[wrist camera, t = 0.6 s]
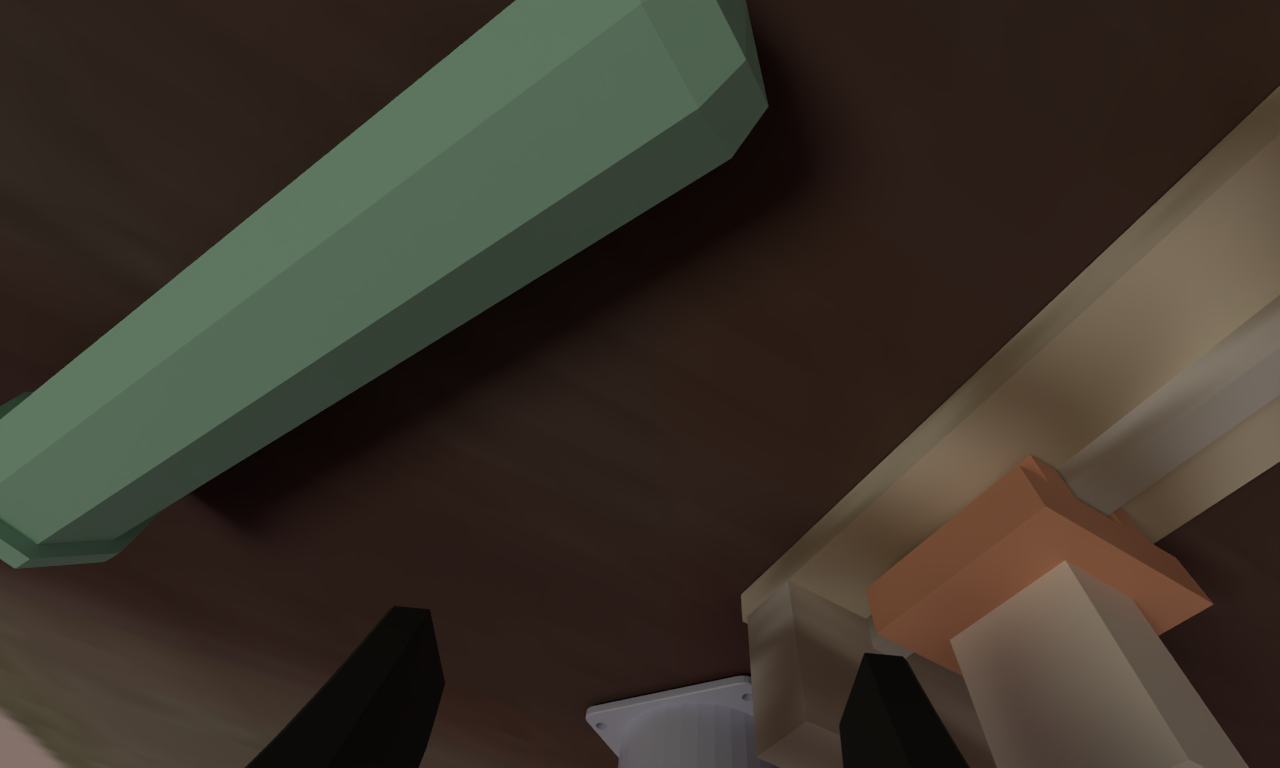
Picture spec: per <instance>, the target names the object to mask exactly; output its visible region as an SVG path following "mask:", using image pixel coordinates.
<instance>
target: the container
mask: <svg viewBox="0 0 1280 768" xmlns="http://www.w3.org/2000/svg"><path fill="white" fill-rule="evenodd" d="M767 108H768V102H767V97H766V93H765V88H764V83H763V79H762V74H761V69H760V65H759V60H758V55H757V51H756V46H755V41H754V37H753V32H752V27H751V23H750V18H749V13H748V9H747V4H746V0H516V1H514V2H513V3H512V4H511V5H510V6H508V7H507V8H506V9H505V10H503V11H502V12H501V13H500V14H498V15H497V16H496V17H495V18H494V19H492V20H491V21H490V22H489V23H487V24H486V25H485V26H484V27H482V28H481V29H480V30H479V31H478V32H476V33H475V34H474V35H473V36H471V37H470V38H469V39H468V40H466V41H465V42H464V43H463V44H462V45H460V46H459V47H458V48H457V49H455V50H454V51H453V52H452V53H450V54H449V55H448V56H447V57H446V58H444V59H443V60H442V61H441V62H439V63H438V64H437V65H436V66H434V67H433V68H432V69H431V70H430V71H428V72H427V73H426V74H425V75H423V76H422V77H421V78H420V79H419V80H417V81H416V82H415V83H414V84H412V85H411V86H410V87H409V88H407V89H406V90H405V91H404V92H403V93H401V94H400V95H399V96H398V97H396V98H395V99H394V100H393V101H391V102H390V103H389V104H388V105H387V106H385V107H384V108H383V109H382V110H380V111H379V112H378V113H377V114H375V115H374V116H373V117H372V118H371V119H369V120H368V121H367V122H366V123H364V124H363V125H362V126H361V127H359V128H358V129H357V130H356V131H355V132H353V133H352V134H351V135H350V136H348V137H347V138H346V139H345V140H344V141H342V142H341V143H340V144H339V145H337V146H336V147H335V148H334V149H332V150H331V151H330V152H329V153H328V154H326V155H325V156H324V157H323V158H321V159H320V160H319V161H318V162H316V163H315V164H314V165H313V166H312V167H310V168H309V169H308V170H307V171H305V172H304V173H303V174H302V175H300V176H299V177H298V178H297V179H296V180H294V181H293V182H292V183H291V184H289V185H288V186H287V187H286V188H284V189H283V190H282V191H281V192H280V193H278V194H277V195H276V196H275V197H273V198H272V199H271V200H270V201H268V202H267V203H266V204H265V205H264V206H262V207H261V208H260V209H259V210H257V211H256V212H255V213H254V214H253V215H251V216H250V217H249V218H248V219H246V220H245V221H244V222H243V223H241V224H240V225H239V226H238V227H237V228H235V229H234V230H233V231H232V232H230V233H229V234H228V235H227V236H225V237H224V238H223V239H222V240H221V241H219V242H218V243H217V244H216V245H214V246H213V247H212V248H211V249H209V250H208V251H207V252H206V253H205V254H203V255H202V256H201V257H200V258H198V259H197V260H196V261H195V262H193V263H192V264H191V265H190V266H189V267H187V268H186V269H185V270H184V271H182V272H181V273H180V274H179V275H177V276H176V277H175V278H174V279H173V280H171V281H170V282H169V283H168V284H166V285H165V286H164V287H163V288H162V289H160V290H159V291H158V292H157V293H155V294H154V295H153V296H152V297H150V298H149V299H148V300H147V301H146V302H144V303H143V304H142V305H141V306H139V307H138V308H137V309H136V310H134V311H133V312H132V313H131V314H130V315H128V316H127V317H126V318H125V319H123V320H122V321H121V322H120V323H118V324H117V325H116V326H115V327H114V328H112V329H111V330H110V331H109V332H107V333H106V334H105V335H104V336H102V337H101V338H100V339H99V340H98V341H96V342H95V343H94V344H93V345H91V346H90V347H89V348H88V349H86V350H85V351H84V352H83V353H82V354H80V355H79V356H78V357H77V358H75V359H74V360H73V361H72V362H71V363H69V364H68V365H67V366H66V367H64V368H63V369H62V370H61V371H59V372H58V373H57V374H56V375H55V376H53V377H52V378H51V379H50V380H48V381H47V382H46V383H45V384H43V385H42V386H41V387H40V388H39V389H37V390H36V391H35V392H34V393H32V392H24V393H22V394H20V395H19V396H17V397H15V398H14V399H12V400H10V401H9V402H7V403H5V404H4V405H2V406H0V559H2V560H3V561H5V562H6V563H7V564H9V565H10V566H12V567H13V568H15V569H17V568H30V567H43V566H56V565H69V564H82V563H96V562H105V561H107V560H109V559H110V558H112V557H114V556H115V555H117V554H119V553H120V552H121V551H122V550H123V549H124V548H125V547H126V546H127V545H128V544H129V543H130V542H131V541H132V540H133V539H134V538H135V537H136V536H137V535H138V534H139V533H140V532H141V531H143V530H144V529H145V528H146V527H147V526H148V525H149V524H150V523H151V522H152V521H153V520H154V519H155V518H156V517H157V516H158V515H159V514H160V513H161V512H162V511H163V510H164V509H165V508H166V507H167V506H169V505H171V504H172V503H174V502H176V501H177V500H179V499H180V498H182V497H184V496H185V495H187V494H189V493H190V492H192V491H193V490H195V489H197V488H198V487H200V486H201V485H203V484H205V483H206V482H208V481H210V480H211V479H213V478H214V477H216V476H218V475H219V474H221V473H223V472H224V471H226V470H227V469H229V468H231V467H232V466H234V465H235V464H237V463H239V462H240V461H242V460H244V459H245V458H247V457H248V456H250V455H252V454H253V453H255V452H257V451H258V450H260V449H261V448H263V447H265V446H266V445H268V444H269V443H271V442H273V441H274V440H276V439H278V438H279V437H281V436H282V435H284V434H286V433H287V432H289V431H291V430H292V429H294V428H295V427H297V426H299V425H300V424H302V423H303V422H305V421H307V420H308V419H310V418H312V417H313V416H315V415H316V414H318V413H320V412H321V411H323V410H325V409H326V408H328V407H329V406H331V405H333V404H334V403H336V402H337V401H339V400H341V399H342V398H344V397H346V396H347V395H349V394H350V393H352V392H354V391H355V390H357V389H359V388H360V387H362V386H363V385H365V384H367V383H368V382H370V381H371V380H373V379H375V378H376V377H378V376H380V375H381V374H383V373H384V372H386V371H388V370H389V369H391V368H393V367H394V366H396V365H397V364H399V363H401V362H402V361H404V360H405V359H407V358H409V357H410V356H412V355H414V354H415V353H417V352H418V351H420V350H422V349H423V348H425V347H427V346H428V345H430V344H431V343H433V342H435V341H436V340H438V339H439V338H441V337H443V336H444V335H446V334H448V333H449V332H451V331H452V330H454V329H456V328H457V327H459V326H461V325H462V324H464V323H465V322H467V321H469V320H470V319H472V318H473V317H475V316H477V315H478V314H480V313H482V312H483V311H485V310H486V309H488V308H490V307H491V306H493V305H495V304H496V303H498V302H499V301H501V300H503V299H504V298H506V297H507V296H509V295H511V294H512V293H514V292H516V291H517V290H519V289H520V288H522V287H524V286H525V285H527V284H529V283H530V282H532V281H533V280H535V279H537V278H538V277H540V276H541V275H543V274H545V273H546V272H548V271H550V270H551V269H553V268H554V267H556V266H558V265H559V264H561V263H563V262H564V261H566V260H567V259H569V258H571V257H572V256H574V255H575V254H577V253H579V252H580V251H582V250H584V249H585V248H587V247H588V246H590V245H592V244H593V243H595V242H597V241H598V240H600V239H601V238H603V237H605V236H606V235H608V234H609V233H611V232H613V231H614V230H616V229H618V228H619V227H621V226H622V225H624V224H626V223H627V222H629V221H631V220H632V219H634V218H635V217H637V216H639V215H640V214H642V213H644V212H645V211H647V210H648V209H650V208H652V207H653V206H655V205H656V204H658V203H660V202H661V201H663V200H665V199H666V198H668V197H669V196H671V195H673V194H674V193H676V192H678V191H679V190H681V189H682V188H684V187H686V186H687V185H689V184H690V183H692V182H694V181H695V180H697V179H699V178H700V177H702V176H703V175H705V174H707V173H708V172H710V171H712V170H713V169H715V168H716V167H718V166H720V165H721V164H723V163H724V162H726V161H728V160H729V159H731V158H732V157H733V155H734V154H735V153H736V151H737V150H738V148H739V147H740V146H741V144H742V143H743V141H744V140H745V139H746V137H747V136H748V134H749V133H750V132H751V130H752V129H753V127H754V126H755V125H756V123H757V122H758V120H759V119H760V117H761V116H762V115H763V113H764V112H765V110H766V109H767Z"/></svg>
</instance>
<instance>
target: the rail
mask: <svg viewBox="0 0 1280 768" xmlns="http://www.w3.org/2000/svg"><path fill="white" fill-rule="evenodd" d="M1029 455H1031V456H1033V457H1035V458H1036V459H1038V460H1040V461H1041V462H1043V463H1045V464H1046V465H1048V466H1050V467H1051V468H1053V469H1055V470H1056V471H1057V473H1058V474H1059V475H1060V477H1061V478H1062V480H1063V481H1064V482H1065V484H1066V485H1067V487H1068V488H1069V489H1070V491H1071V492H1072V494H1073V495H1074V496H1075V498H1076V499H1078V500H1079V501H1081V502H1083V503H1084V504H1086V505H1088V506H1089V507H1091V508H1093V509H1095V510H1096V511H1098V512H1100V513H1101V514H1103V515H1105V516H1106V517H1107V516H1108V515H1110V514H1111V513H1112V512H1114V511H1115V510H1117V509H1118V508H1120V509H1121V510H1123V511H1125V512H1126V514H1127V515H1128V516H1129V517H1130V519H1131V520H1132V521H1133V522H1134V524H1135V525H1136V526H1137V528H1138V529H1139V530H1140V531H1141V533H1142V534H1143V535H1144V536H1145V538H1146V539H1147V540H1148V541H1149V542H1150V543H1152V544H1154V543H1156V542H1157V541H1159V540H1160V539H1162V538H1163V537H1165V536H1166V535H1168V534H1169V533H1171V532H1172V531H1174V530H1175V529H1177V528H1178V527H1180V526H1182V525H1183V524H1185V523H1186V522H1188V521H1189V520H1191V519H1192V518H1194V517H1195V516H1197V515H1198V514H1200V513H1201V512H1203V511H1204V510H1206V509H1208V508H1209V507H1211V506H1212V505H1214V504H1215V503H1217V502H1218V501H1220V500H1221V499H1223V498H1224V497H1226V496H1227V495H1229V494H1230V493H1232V492H1234V491H1235V490H1237V489H1238V488H1240V487H1241V486H1243V485H1244V484H1246V483H1247V482H1249V481H1250V480H1252V479H1253V478H1255V477H1256V476H1258V475H1260V474H1261V473H1263V472H1264V471H1266V470H1267V469H1269V468H1270V467H1272V466H1273V465H1275V464H1276V463H1278V462H1279V461H1280V86H1279V87H1278V88H1277V89H1276V90H1275V91H1274V92H1273V93H1272V94H1271V95H1269V96H1268V97H1267V98H1266V99H1265V100H1264V101H1263V102H1262V103H1261V104H1260V105H1259V106H1258V107H1257V108H1256V109H1255V110H1254V111H1253V112H1251V113H1250V114H1249V115H1248V116H1247V117H1246V118H1245V119H1244V120H1243V121H1242V122H1241V123H1240V124H1239V125H1238V126H1237V127H1236V128H1235V129H1233V130H1232V131H1231V132H1230V133H1229V134H1228V135H1227V136H1226V137H1225V138H1224V139H1223V140H1222V141H1221V142H1220V143H1219V144H1218V145H1217V146H1216V147H1214V148H1213V149H1212V150H1211V151H1210V152H1209V153H1208V154H1207V155H1206V156H1205V157H1204V158H1203V159H1202V160H1201V161H1200V162H1199V163H1198V164H1196V165H1195V166H1194V167H1193V168H1192V169H1191V170H1190V171H1189V172H1188V173H1187V174H1186V175H1185V176H1184V177H1183V178H1182V179H1181V180H1180V181H1178V182H1177V183H1176V184H1175V185H1174V186H1173V187H1172V188H1171V189H1170V190H1169V191H1168V192H1167V193H1166V194H1165V195H1164V196H1163V197H1162V198H1160V199H1159V200H1158V201H1157V202H1156V203H1155V204H1154V205H1153V206H1152V207H1151V208H1150V209H1149V210H1148V211H1147V212H1146V213H1145V214H1144V215H1142V216H1141V217H1140V218H1139V219H1138V220H1137V221H1136V222H1135V223H1134V224H1133V225H1132V226H1131V227H1130V228H1129V229H1128V230H1127V231H1126V232H1124V233H1123V234H1122V235H1121V236H1120V237H1119V238H1118V239H1117V240H1116V241H1115V242H1114V243H1113V244H1112V245H1111V246H1110V247H1109V248H1108V249H1106V250H1105V251H1104V252H1103V253H1102V254H1101V255H1100V256H1099V257H1098V258H1097V259H1096V260H1095V261H1094V262H1093V263H1092V264H1091V265H1090V266H1089V267H1087V268H1086V269H1085V270H1084V271H1083V272H1082V273H1081V274H1080V275H1079V276H1078V277H1077V278H1076V279H1075V280H1074V281H1073V282H1072V283H1071V284H1069V285H1068V286H1067V287H1066V288H1065V289H1064V290H1063V291H1062V292H1061V293H1060V294H1059V295H1058V296H1057V297H1056V298H1055V299H1054V300H1053V301H1051V302H1050V303H1049V304H1048V305H1047V306H1046V307H1045V308H1044V309H1043V310H1042V311H1041V312H1040V313H1039V314H1038V315H1037V316H1036V317H1035V318H1033V319H1032V320H1031V321H1030V322H1029V323H1028V324H1027V325H1026V326H1025V327H1024V328H1023V329H1022V330H1021V331H1020V332H1019V333H1018V334H1017V335H1015V336H1014V337H1013V338H1012V339H1011V340H1010V341H1009V342H1008V343H1007V344H1006V345H1005V346H1004V347H1003V348H1002V349H1001V350H1000V351H999V352H997V353H996V354H995V355H994V356H993V357H992V358H991V359H990V360H989V361H988V362H987V363H986V364H985V365H984V366H983V367H982V368H981V369H979V370H978V371H977V372H976V373H975V374H974V375H973V376H972V377H971V378H970V379H969V380H968V381H967V382H966V383H965V384H964V385H963V386H962V387H960V388H959V389H958V390H957V391H956V392H955V393H954V394H953V395H952V396H951V397H950V398H949V399H948V400H947V401H946V402H945V403H944V404H942V405H941V406H940V407H939V408H938V409H937V410H936V411H935V412H934V413H933V414H932V415H931V416H930V417H929V418H928V419H927V420H926V421H924V422H923V423H922V424H921V425H920V426H919V427H918V428H917V429H916V430H915V431H914V432H913V433H912V434H911V435H910V436H909V437H908V438H906V439H905V440H904V441H903V442H902V443H901V444H900V445H899V446H898V447H897V448H896V449H895V450H894V451H893V452H892V453H891V454H890V455H888V456H887V457H886V458H885V459H884V460H883V461H882V462H881V463H880V464H879V465H878V466H877V467H876V468H875V469H874V470H873V471H872V472H870V473H869V474H868V475H867V476H866V477H865V478H864V479H863V480H862V481H861V482H860V483H859V484H858V485H857V486H856V487H855V488H854V489H852V490H851V491H850V492H849V493H848V494H847V495H846V496H845V497H844V498H843V499H842V500H841V501H840V502H839V503H838V504H837V505H836V506H834V507H833V508H832V509H831V510H830V511H829V512H828V513H827V514H826V515H825V516H824V517H823V518H822V519H821V520H820V521H819V522H818V523H817V524H815V525H814V526H813V527H812V528H811V529H810V530H809V531H808V532H807V533H806V534H805V535H804V536H803V537H802V538H801V539H800V540H799V541H797V542H796V543H795V544H794V545H793V546H792V547H791V548H790V549H789V550H788V551H787V552H786V553H785V554H784V555H783V556H782V557H781V558H779V559H778V560H777V561H776V562H775V563H774V564H773V565H772V566H771V567H770V568H769V569H768V570H767V571H766V572H765V573H764V574H763V575H761V576H760V577H759V578H758V579H757V580H756V581H755V582H754V583H753V584H752V585H751V586H750V587H749V588H748V589H747V590H746V591H745V592H743V593H742V594H741V603H742V620H743V622H745V623H747V624H748V635H749V650H750V666H751V681H752V697H753V712H754V728H755V743H756V757H757V758H759V759H762V760H764V761H766V762H769V763H771V764H773V765H776V766H778V767H781V768H843V759H842V749H841V739H840V729H839V724H840V721H841V718H842V715H843V712H844V709H845V706H846V704H847V701H848V698H849V695H850V692H851V689H852V686H853V684H854V681H855V678H856V675H857V672H858V669H859V667H860V664H861V661H862V658H863V655H864V652H865V653H875V654H885V655H895V656H903V657H904V658H905V659H906V660H907V661H908V663H909V665H910V666H911V668H912V670H913V672H914V674H915V675H916V677H917V679H918V681H919V683H920V684H921V686H922V688H923V690H924V691H925V693H926V695H927V697H928V698H929V700H930V702H931V703H932V705H933V707H934V709H935V710H936V712H937V714H938V715H939V717H940V719H941V721H942V722H943V724H944V726H945V727H946V729H947V731H948V732H949V734H950V736H951V737H952V739H953V741H954V742H955V744H956V746H957V747H958V749H959V750H960V752H961V754H962V755H963V757H964V759H965V760H966V762H967V763H968V765H969V767H970V768H997V767H996V764H995V761H994V758H993V756H992V753H991V750H990V748H989V745H988V742H987V740H986V737H985V734H984V731H983V729H982V726H981V723H980V721H979V718H978V715H977V712H976V710H975V707H974V704H973V702H972V699H971V696H970V694H969V691H968V688H967V685H966V683H965V680H964V677H963V676H961V675H959V674H957V673H955V672H953V671H951V670H949V669H947V668H945V667H943V666H941V665H939V664H937V663H935V662H933V661H931V660H929V659H927V658H925V657H923V656H921V655H919V654H917V653H915V652H913V651H910V650H908V649H906V648H904V647H902V646H900V645H898V644H896V643H894V642H892V641H890V640H888V639H886V638H884V637H882V636H880V635H878V634H877V633H876V629H875V626H874V622H873V618H872V614H871V610H870V606H869V603H868V599H867V595H866V591H865V589H866V588H868V587H869V586H870V585H871V584H873V583H874V582H875V581H876V580H878V579H879V578H880V577H881V576H882V575H884V573H886V572H887V571H888V570H889V569H891V568H892V567H893V566H894V565H895V564H897V563H898V562H899V561H900V560H902V559H903V558H904V557H905V556H906V555H908V554H909V553H910V552H911V551H913V550H914V549H915V548H916V547H917V546H919V545H920V544H921V543H922V542H924V541H925V540H926V539H927V538H928V537H930V536H931V535H932V534H933V533H935V532H936V531H937V530H938V529H939V528H941V527H942V526H943V525H944V524H946V523H947V522H948V521H949V520H951V519H952V518H953V517H954V516H955V515H957V514H958V513H959V512H960V511H962V510H963V509H964V508H965V507H966V506H968V505H969V504H970V503H971V502H973V501H974V500H975V499H976V498H977V497H979V496H980V495H981V494H982V493H984V492H985V491H986V490H987V489H988V488H990V487H991V486H992V485H993V484H995V483H996V482H997V481H998V480H999V479H1001V478H1002V477H1003V476H1004V475H1006V474H1007V473H1008V472H1009V471H1010V470H1012V469H1013V468H1014V467H1015V466H1017V465H1018V464H1019V463H1020V462H1021V461H1023V460H1024V459H1025V458H1026V457H1028V456H1029Z"/></svg>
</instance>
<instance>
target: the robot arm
mask: <svg viewBox="0 0 1280 768" xmlns="http://www.w3.org/2000/svg"><path fill="white" fill-rule="evenodd" d="M444 685H445V681H444V676H443V672H442V667H441V662H440V657H439V652H438V647H437V642H436V637H435V633H434V628H433V623H432V618H431V613H430V609H419V608H409V607H399V606H394V607H393V608H391V609H390V610H389V611H388V612H387V613H386V614H385V616H384V617H383V618H382V619H381V620H380V621H379V623H378V624H377V625H376V626H375V627H374V629H373V630H372V631H371V632H370V633H369V634H368V636H367V637H366V638H365V639H364V640H363V641H362V643H361V644H360V645H359V646H358V647H357V648H356V650H355V651H354V652H353V653H352V654H351V655H350V656H349V658H348V659H347V660H346V661H345V662H344V663H343V664H342V666H341V667H340V668H339V669H338V670H337V671H336V672H335V673H334V675H333V676H332V677H331V678H330V679H329V680H328V681H327V682H326V684H325V685H324V686H323V687H322V688H321V689H320V690H319V691H318V692H317V693H316V694H315V695H314V697H313V698H312V699H311V700H310V701H309V702H308V703H307V704H306V705H305V706H304V707H303V708H302V709H301V711H300V712H299V713H298V714H297V715H296V716H295V717H294V718H293V719H292V720H291V721H290V722H289V723H288V725H287V726H286V727H285V728H284V729H283V730H282V731H281V732H280V733H279V734H278V735H277V736H276V737H275V738H274V739H273V740H272V741H271V742H270V743H269V744H268V745H267V746H266V747H265V748H264V749H263V750H262V751H261V752H260V753H259V754H258V755H257V756H256V757H255V758H254V759H253V760H252V761H251V762H250V763H249V764H248V765H247V766H246V767H245V768H419V765H420V763H421V760H422V758H423V755H424V752H425V750H426V747H427V744H428V741H429V737H430V734H431V731H432V727H433V724H434V721H435V717H436V714H437V710H438V706H439V703H440V699H441V696H442V692H443V688H444ZM586 720H587V722H588V723H589V724H590V725H591V726H592V728H593V729H594V730H595V731H596V732H597V733H598V734H599V736H600V737H601V738H602V739H603V740H604V741H605V743H606V744H607V745H608V746H609V747H610V748H611V749H612V751H613V752H614V753H615V754H616V755H617V756H618V758H619V765H618V768H781V767H778V766H776V765H773V764H771V763H769V762H766V761H764V760H762V759H759V758H757V757H756V743H755V728H754V712H753V697H752V681H751V677H749V676H745V675H740V676H735V677H730V678H725V679H721V680H716V681H711V682H706V683H701V684H697V685H692V686H687V687H682V688H677V689H673V690H668V691H663V692H658V693H653V694H648V695H644V696H639V697H634V698H629V699H624V700H620V701H615V702H610V703H605V704H600V705H596V706H592V707H589V708H588V709H587V713H586ZM839 729H840V739H841V749H842V759H843V768H970V767H969V765H968V763H967V762H966V760H965V759H964V757H963V755H962V754H961V752H960V750H959V749H958V747H957V746H956V744H955V742H954V741H953V739H952V737H951V736H950V734H949V732H948V731H947V729H946V727H945V726H944V724H943V722H942V721H941V719H940V717H939V715H938V714H937V712H936V710H935V709H934V707H933V705H932V703H931V702H930V700H929V698H928V697H927V695H926V693H925V691H924V690H923V688H922V686H921V684H920V683H919V681H918V679H917V677H916V675H915V674H914V672H913V670H912V668H911V666H910V665H909V663H908V661H907V660H906V659H905V658H904V657H903V656H895V655H885V654H875V653H865V652H864V655H863V658H862V661H861V664H860V667H859V669H858V672H857V675H856V678H855V681H854V684H853V686H852V689H851V692H850V695H849V698H848V701H847V704H846V706H845V709H844V712H843V715H842V718H841V721H840V724H839Z"/></svg>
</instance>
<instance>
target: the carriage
mask: <svg viewBox="0 0 1280 768" xmlns="http://www.w3.org/2000/svg"><path fill="white" fill-rule="evenodd" d="M865 591H866V595H867V599H868V603H869V606H870V610H871V614H872V618H873V622H874V626H875V629H876V633H877V634H878V635H880V636H882V637H884V638H886V639H888V640H890V641H892V642H894V643H896V644H898V645H900V646H902V647H904V648H906V649H908V650H910V651H913V652H915V653H917V654H919V655H921V656H923V657H925V658H927V659H929V660H931V661H933V662H935V663H937V664H939V665H941V666H943V667H945V668H947V669H949V670H951V671H953V672H955V673H957V674H959V675H961V676H963V677H964V680H965V683H966V685H967V688H968V691H969V694H970V696H971V699H972V702H973V704H974V707H975V710H976V712H977V715H978V718H979V721H980V723H981V726H982V729H983V731H984V734H985V737H986V740H987V742H988V745H989V748H990V750H991V753H992V756H993V758H994V761H995V764H996V767H997V768H1249V767H1248V766H1247V764H1246V763H1245V762H1244V760H1243V759H1242V757H1241V756H1240V754H1239V753H1238V751H1237V750H1236V748H1235V747H1234V746H1233V744H1232V743H1231V741H1230V740H1229V738H1228V737H1227V735H1226V734H1225V733H1224V731H1223V730H1222V728H1221V727H1220V725H1219V724H1218V722H1217V721H1216V719H1215V718H1214V717H1213V715H1212V714H1211V712H1210V711H1209V709H1208V708H1207V706H1206V705H1205V704H1204V702H1203V701H1202V699H1201V698H1200V696H1199V695H1198V693H1197V692H1196V690H1195V689H1194V688H1193V686H1192V685H1191V683H1190V682H1189V680H1188V679H1187V677H1186V676H1185V675H1184V673H1183V672H1182V670H1181V669H1180V667H1179V666H1178V664H1177V663H1176V661H1175V660H1174V659H1173V657H1172V656H1171V654H1170V653H1169V651H1168V650H1167V648H1166V647H1165V646H1164V644H1163V643H1162V641H1161V640H1160V638H1159V637H1158V636H1159V635H1161V634H1162V633H1164V632H1166V631H1167V630H1169V629H1171V628H1173V627H1174V626H1176V625H1178V624H1180V623H1181V622H1183V621H1185V620H1187V619H1188V618H1190V617H1192V616H1194V615H1195V614H1197V613H1199V612H1201V611H1202V610H1204V609H1206V608H1208V607H1209V606H1211V605H1213V603H1212V602H1211V600H1210V599H1209V598H1208V597H1207V595H1206V594H1205V593H1204V592H1203V591H1202V589H1201V588H1200V587H1199V586H1198V584H1197V583H1196V582H1195V581H1194V579H1193V578H1192V577H1191V576H1190V575H1189V573H1188V572H1187V571H1186V570H1185V568H1184V567H1183V566H1182V565H1181V564H1180V562H1179V561H1178V560H1177V559H1176V558H1175V557H1174V556H1172V555H1170V554H1169V553H1167V552H1165V551H1164V550H1162V549H1160V548H1158V547H1157V546H1155V545H1153V544H1152V543H1150V542H1149V541H1148V540H1147V539H1146V538H1145V536H1144V535H1143V534H1142V533H1141V531H1140V530H1139V529H1138V528H1137V526H1136V525H1135V524H1134V522H1133V521H1132V520H1131V519H1130V517H1129V516H1128V515H1127V514H1126V512H1125V511H1123V510H1121V509H1120V508H1118V509H1117V510H1115V511H1114V512H1112V513H1111V514H1110V515H1108V516H1107V517H1106V516H1105V515H1103V514H1101V513H1100V512H1098V511H1096V510H1095V509H1093V508H1091V507H1089V506H1088V505H1086V504H1084V503H1083V502H1081V501H1079V500H1078V499H1076V498H1075V496H1074V495H1073V494H1072V492H1071V491H1070V489H1069V488H1068V487H1067V485H1066V484H1065V482H1064V481H1063V480H1062V478H1061V477H1060V475H1059V474H1058V473H1057V471H1056V470H1055V469H1053V468H1051V467H1050V466H1048V465H1046V464H1045V463H1043V462H1041V461H1040V460H1038V459H1036V458H1035V457H1033V456H1031V455H1029V456H1028V457H1026V458H1025V459H1024V460H1023V461H1021V462H1020V463H1019V464H1018V465H1017V466H1015V467H1014V468H1013V469H1012V470H1010V471H1009V472H1008V473H1007V474H1006V475H1004V476H1003V477H1002V478H1001V479H999V480H998V481H997V482H996V483H995V484H993V485H992V486H991V487H990V488H988V489H987V490H986V491H985V492H984V493H982V494H981V495H980V496H979V497H977V498H976V499H975V500H974V501H973V502H971V503H970V504H969V505H968V506H966V507H965V508H964V509H963V510H962V511H960V512H959V513H958V514H957V515H955V516H954V517H953V518H952V519H951V520H949V521H948V522H947V523H946V524H944V525H943V526H942V527H941V528H939V529H938V530H937V531H936V532H935V533H933V534H932V535H931V536H930V537H928V538H927V539H926V540H925V541H924V542H922V543H921V544H920V545H919V546H917V547H916V548H915V549H914V550H913V551H911V552H910V553H909V554H908V555H906V556H905V557H904V558H903V559H902V560H900V561H899V562H898V563H897V564H895V565H894V566H893V567H892V568H891V569H889V570H888V571H887V572H886V573H884V575H882V576H881V577H880V578H879V579H878V580H876V581H875V582H874V583H873V584H871V585H870V586H869V587H868V588H866V589H865Z"/></svg>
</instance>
